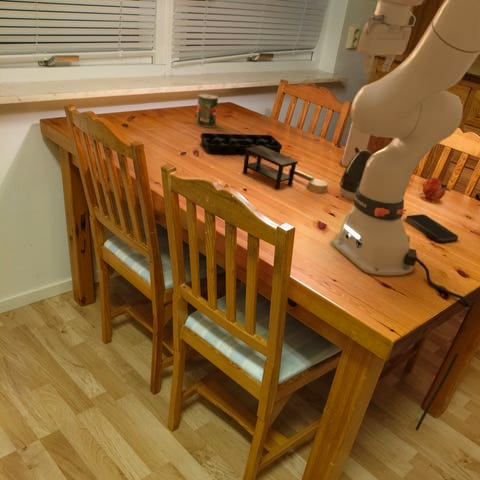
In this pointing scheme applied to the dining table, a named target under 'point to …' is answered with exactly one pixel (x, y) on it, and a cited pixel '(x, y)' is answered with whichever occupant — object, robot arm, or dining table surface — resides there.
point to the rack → (267, 170)
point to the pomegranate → (433, 189)
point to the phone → (431, 228)
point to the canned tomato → (207, 110)
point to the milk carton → (354, 144)
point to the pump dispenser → (354, 174)
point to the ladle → (313, 182)
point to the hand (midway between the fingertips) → (375, 72)
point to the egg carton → (237, 142)
